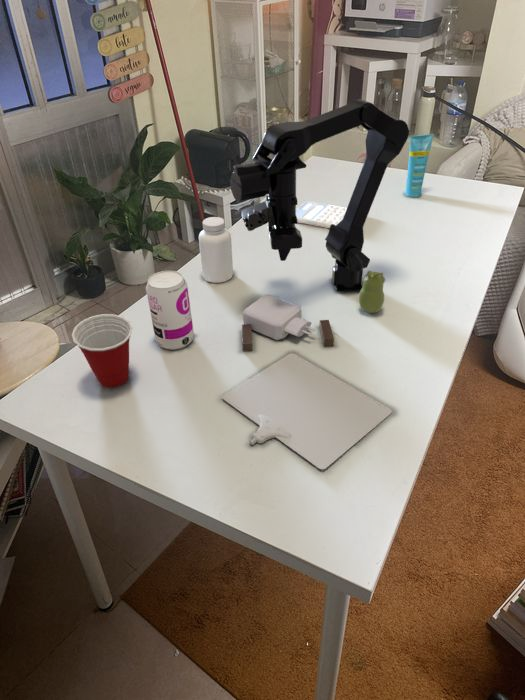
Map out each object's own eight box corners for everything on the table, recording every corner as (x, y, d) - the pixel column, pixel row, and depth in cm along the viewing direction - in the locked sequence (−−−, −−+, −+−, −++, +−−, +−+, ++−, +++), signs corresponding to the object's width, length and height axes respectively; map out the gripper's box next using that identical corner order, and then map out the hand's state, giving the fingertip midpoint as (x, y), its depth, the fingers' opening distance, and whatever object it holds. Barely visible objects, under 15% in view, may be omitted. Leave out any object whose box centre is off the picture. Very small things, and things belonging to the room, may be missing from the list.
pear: (355, 314, 120) (359, 276, 114) (360, 302, 124) (364, 264, 118) (380, 319, 118) (385, 280, 112) (384, 306, 122) (389, 268, 116)
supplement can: (200, 332, 116) (192, 272, 107) (183, 354, 110) (174, 292, 101) (167, 326, 119) (157, 266, 109) (149, 347, 112) (137, 286, 103)
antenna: (204, 409, 97) (203, 405, 96) (291, 354, 110) (292, 350, 109) (305, 487, 82) (306, 482, 82) (393, 413, 95) (394, 408, 95)
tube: (405, 199, 173) (414, 137, 161) (399, 193, 176) (407, 133, 165) (426, 196, 174) (436, 135, 162) (419, 191, 178) (429, 131, 166)
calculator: (349, 232, 154) (350, 226, 153) (288, 221, 162) (287, 215, 160) (365, 215, 163) (365, 209, 162) (306, 205, 171) (306, 199, 170)
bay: (328, 327, 116) (328, 319, 115) (333, 346, 111) (333, 338, 110) (242, 332, 116) (241, 324, 115) (242, 351, 110) (242, 343, 109)
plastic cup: (115, 404, 99) (101, 354, 91) (74, 385, 103) (58, 335, 96) (154, 372, 106) (144, 323, 99) (114, 355, 111) (102, 307, 103)
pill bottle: (229, 284, 132) (225, 228, 123) (198, 282, 134) (192, 226, 125) (237, 269, 138) (233, 215, 129) (207, 267, 140) (201, 213, 131)
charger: (300, 352, 110) (243, 328, 117) (323, 331, 115) (268, 309, 123) (300, 333, 107) (242, 310, 114) (324, 313, 112) (268, 292, 120)
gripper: (241, 178, 116) (244, 243, 125) (244, 212, 101) (248, 283, 110) (291, 175, 116) (291, 240, 125) (303, 208, 101) (301, 280, 111)
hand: (282, 260), depth 118 cm, fingers closed
